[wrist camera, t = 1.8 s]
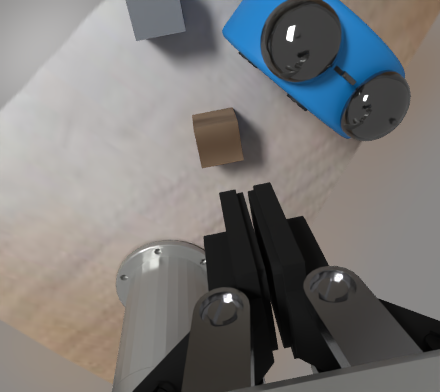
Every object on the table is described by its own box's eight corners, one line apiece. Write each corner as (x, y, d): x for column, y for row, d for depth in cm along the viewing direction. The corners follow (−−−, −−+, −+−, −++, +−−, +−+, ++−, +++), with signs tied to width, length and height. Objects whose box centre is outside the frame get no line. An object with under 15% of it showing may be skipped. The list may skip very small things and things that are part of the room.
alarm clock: (359, 60, 37) (458, 104, 24) (314, 111, 39) (383, 178, 26) (255, -38, 32) (309, -50, 19) (211, 26, 34) (232, 56, 21)
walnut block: (237, 144, 40) (243, 160, 37) (200, 151, 40) (202, 168, 37) (232, 107, 38) (237, 120, 35) (192, 114, 38) (193, 128, 35)
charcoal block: (185, 25, 34) (185, 31, 31) (140, 34, 34) (136, 41, 31) (174, -26, 32) (174, -26, 29) (127, -17, 32) (121, -16, 29)
